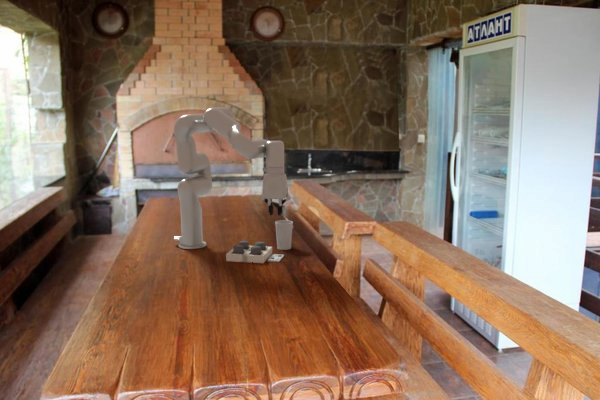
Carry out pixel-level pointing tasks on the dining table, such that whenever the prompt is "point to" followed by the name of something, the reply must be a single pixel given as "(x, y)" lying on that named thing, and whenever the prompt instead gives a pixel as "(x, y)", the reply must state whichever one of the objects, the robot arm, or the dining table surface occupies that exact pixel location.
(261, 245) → the button
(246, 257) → the board
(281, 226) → the cup
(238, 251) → the camera button
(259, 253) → the button camera
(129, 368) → the dining table surface
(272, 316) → the dining table surface
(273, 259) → the card
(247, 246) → the button
